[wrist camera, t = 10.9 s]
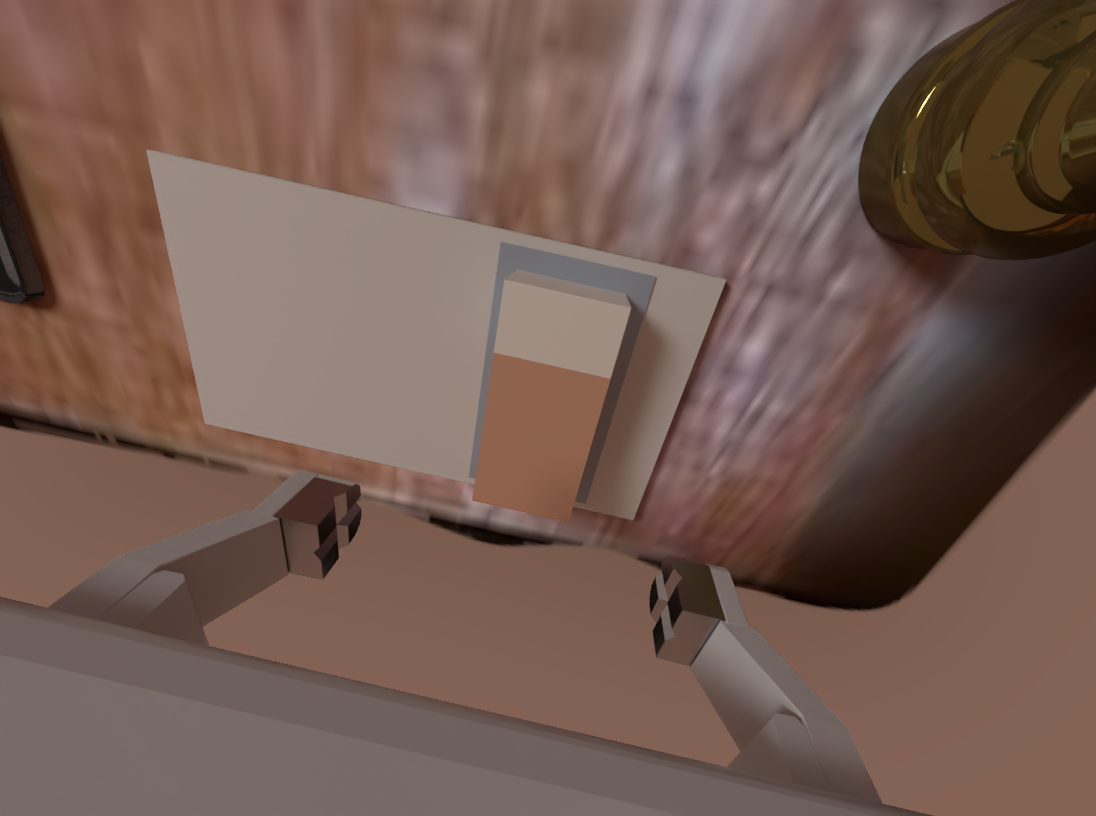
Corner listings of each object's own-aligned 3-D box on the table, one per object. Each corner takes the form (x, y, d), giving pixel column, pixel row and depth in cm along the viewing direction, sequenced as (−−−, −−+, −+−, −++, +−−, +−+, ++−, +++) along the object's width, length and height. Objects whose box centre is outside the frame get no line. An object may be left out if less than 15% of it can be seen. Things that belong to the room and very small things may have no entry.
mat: (159, 151, 18) (144, 149, 18) (722, 277, 18) (727, 280, 17) (213, 419, 24) (203, 424, 24) (632, 513, 24) (633, 521, 24)
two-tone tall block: (571, 486, 23) (568, 522, 20) (486, 467, 23) (472, 500, 20) (625, 293, 18) (631, 307, 15) (517, 269, 18) (504, 279, 15)
